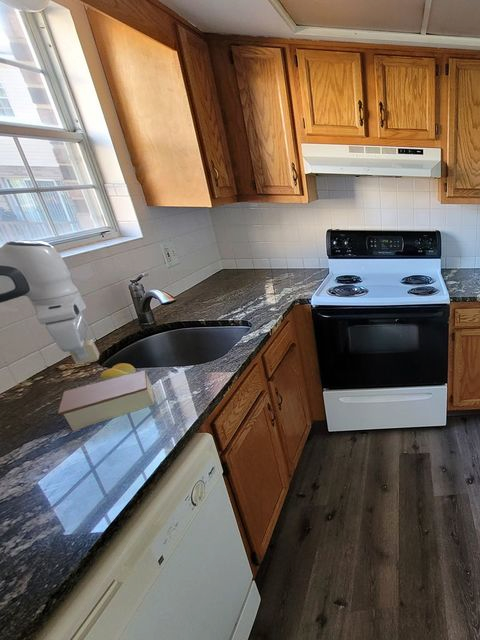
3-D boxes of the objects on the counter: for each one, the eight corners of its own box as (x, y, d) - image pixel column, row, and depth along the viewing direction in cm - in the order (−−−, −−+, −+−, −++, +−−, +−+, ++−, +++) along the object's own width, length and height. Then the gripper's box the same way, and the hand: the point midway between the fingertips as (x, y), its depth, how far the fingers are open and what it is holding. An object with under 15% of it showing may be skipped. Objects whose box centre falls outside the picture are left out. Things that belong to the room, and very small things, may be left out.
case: (72, 430, 97) (63, 414, 94) (77, 408, 106) (69, 392, 104) (154, 404, 107) (147, 389, 104) (152, 386, 116) (145, 371, 114)
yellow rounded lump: (96, 383, 119) (90, 372, 117) (124, 369, 127) (119, 359, 125) (115, 385, 117) (110, 374, 116) (142, 371, 125) (137, 361, 123)
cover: (58, 415, 94) (57, 413, 94) (65, 393, 103) (64, 391, 103) (147, 389, 104) (146, 387, 104) (145, 371, 114) (145, 370, 114)
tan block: (76, 365, 96) (68, 349, 94) (77, 359, 99) (70, 344, 97) (98, 359, 98) (91, 344, 96) (99, 353, 101) (92, 339, 99)
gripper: (49, 298, 98) (73, 345, 103) (35, 319, 83) (64, 372, 89) (80, 293, 101) (102, 338, 107) (72, 312, 86) (98, 363, 92)
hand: (85, 354), depth 98 cm, fingers closed on tan block, 4 cm apart
